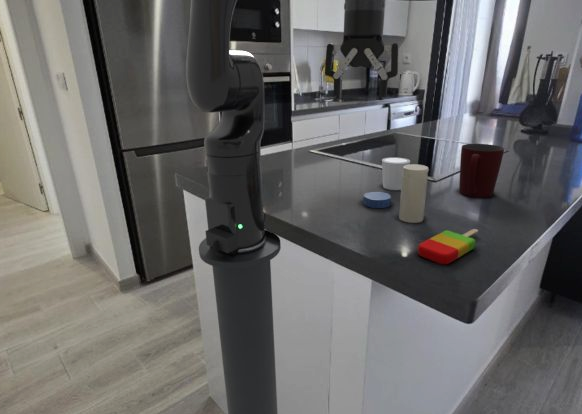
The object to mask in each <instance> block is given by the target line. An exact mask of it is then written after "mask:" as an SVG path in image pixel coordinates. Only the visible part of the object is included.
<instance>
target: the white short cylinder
mask: <svg viewBox="0 0 582 414" xmlns="http://www.w3.org/2000/svg"><path fill="white" fill-rule="evenodd" d="M409 164H411V160H410V159H408V158H405V157H396V156H395V157H391V156H390V157H385V158H384V157H383V158H382V159H381V171H382V172H381V173H382V187H383V189H385V190H389V191H401V183H402V174H403V166H405V165H409Z"/></svg>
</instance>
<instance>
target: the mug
mask: <svg viewBox="0 0 582 414" xmlns="http://www.w3.org/2000/svg"><path fill="white" fill-rule="evenodd" d="M504 151H505V148H504V147H503V146H500V145H495V144H488V143H465V144H462V145H461V151H460V163H459V181H458V183H459V185H458V186H459V187H458V192H459V193H460V195H461V194H462V195H464V196H467V197H471V198H481V199H482V198H490V197H493V194H494V192H495V188H496V184H497V180H498V176H499V173H500V169H501V165H502V162H503V157H504Z"/></svg>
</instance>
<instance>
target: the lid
mask: <svg viewBox="0 0 582 414" xmlns="http://www.w3.org/2000/svg"><path fill="white" fill-rule="evenodd" d="M362 203H363V205H364V206H365V207H367V208H372V209H386V208H388V207H390V206H391V204H392V196H391V194H390V193H387V192H383V191H370V192H369V191H368V192H365V193H364V194H363V197H362Z"/></svg>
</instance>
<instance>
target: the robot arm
mask: <svg viewBox="0 0 582 414" xmlns="http://www.w3.org/2000/svg"><path fill="white" fill-rule="evenodd" d="M237 2H238V0H190V11H189V12H190V13H189V25H188V35H187V48H186V61H185V81H186V88H187V92H188V95H189V97H190V99H191V102H192V103H193V105H194V106H195V107H196V108H197V109H198V110H199V111H201V112H204V113H208V114H209V113H210V114H211V113H212V114H213V113H221V117H220V120H219V122H218V124H217V125H216V126H215V127H214V128H213V129H212V130H211V131H210V132H208V133H207V134H206V135H205V137H204V140H203V145H204V154H205V155H204V156H205V165H206V175H207V184H208V185H207V186H208V195H209V196H208V197H206V198H205V200H204V204H205V212H206V223H207V230H205V238H206V240H207V245H209V246H210V248H211V249H212V253H213V254H214V255H215V256H217V257H220V258H222V257H223V256H224V254H226V255H229V256H231V257H235V256H237V255H241V254H248V253H252V252H255V251H257V250H259V249H261V248H262V247H263V246H264V245H265V243H266V237H265V230H266V229H265V222H266V213H264V212H265V211H264V193H263V192H264V191H263V176H262V175H263V173H262V152H261V141H262V139H263V136H264V131H265V81H264V75H263V71H262V68H261V65H260V62H259V61H258V60H257V58H256V57H255V56H254V55H253V54H252V53H251V52H249V51H247V50H242V49H233V48H231V49H230V44H231V43H230V41H231V29H232V20H233V16H234V11H235V8H236V6H237V5H236V4H237ZM343 4H344V5H343V10H344V15H343V38H342V42H341V44H334V43H328V44H327V45H326V49H325V50H326V51H325V52H326V53H325V64H324V75H325V76H327V77H330V78H332V80H333V92H332V94H333V96H336V97H335V98H336V100H341V99H342V95H343V94H342V92H343V79H342V76H344V74H345V73H346V71H348V69H349V68H350V67H352V68H360V67H362V68H371V67H373V68H374V70H375V71H376V72H377V74H378V76H380V80H379V86H378V87H379V88H378V101H383V99H384V98H386V96H387V94H388V82H389V79H392V78H396V76H398V74H399V44H398V43H397V42H394V43H391V44H384V41H383V40H384V39H383V38H384V25H385V12H386V11H385V10H386V9H385V8H386V0H344V3H343ZM384 51H385V52H386V54H387V56H388V57H390V71H386V69H385V68H384V66H383V65H382V62H381V61H380V60H379V58H380V57H381V56H382V55H383V53H384ZM339 52H341V54H342V56H343V57H344V59H343V61H342V62H341V64H340V65H339V66H338V67H337V69H336V70H334V65H335V57H336V56H338V54H339Z"/></svg>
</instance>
